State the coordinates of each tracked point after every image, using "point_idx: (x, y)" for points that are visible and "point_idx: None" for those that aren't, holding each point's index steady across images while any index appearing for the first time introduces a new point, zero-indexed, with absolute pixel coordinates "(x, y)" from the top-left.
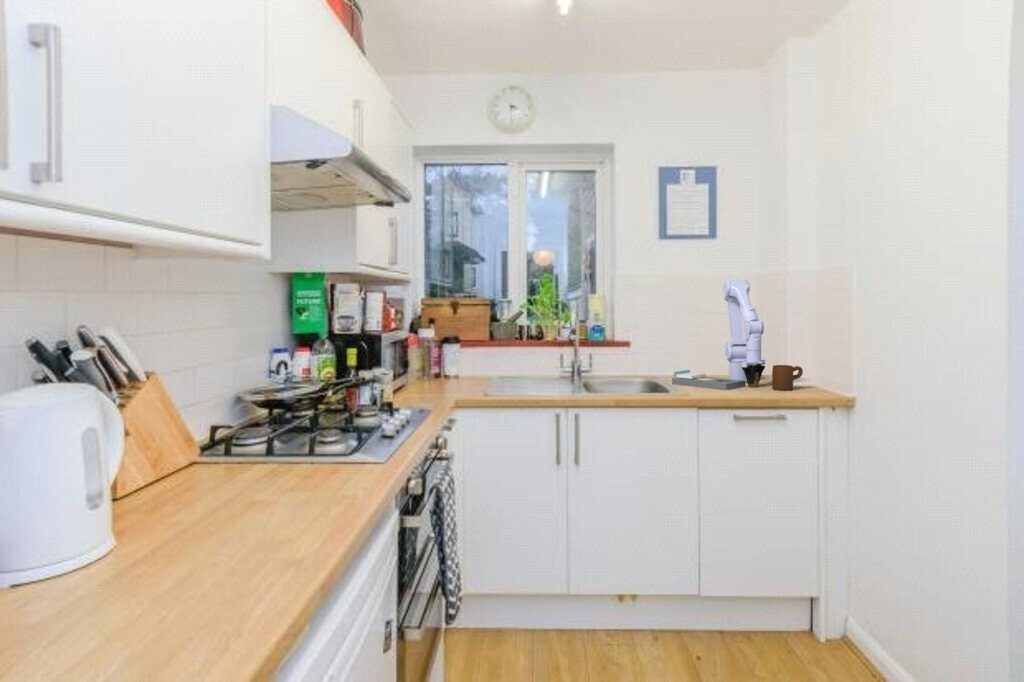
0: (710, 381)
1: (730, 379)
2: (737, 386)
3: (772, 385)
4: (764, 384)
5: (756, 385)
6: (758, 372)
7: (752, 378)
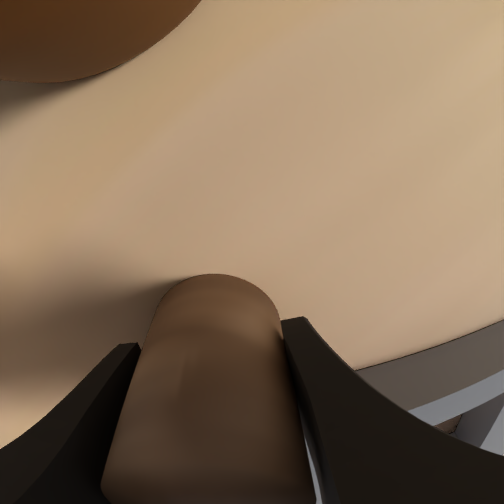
0: (496, 447)
1: (316, 501)
2: (419, 364)
3: (181, 4)
4: (8, 364)
5: (229, 291)
6: (117, 474)
7: (345, 367)
